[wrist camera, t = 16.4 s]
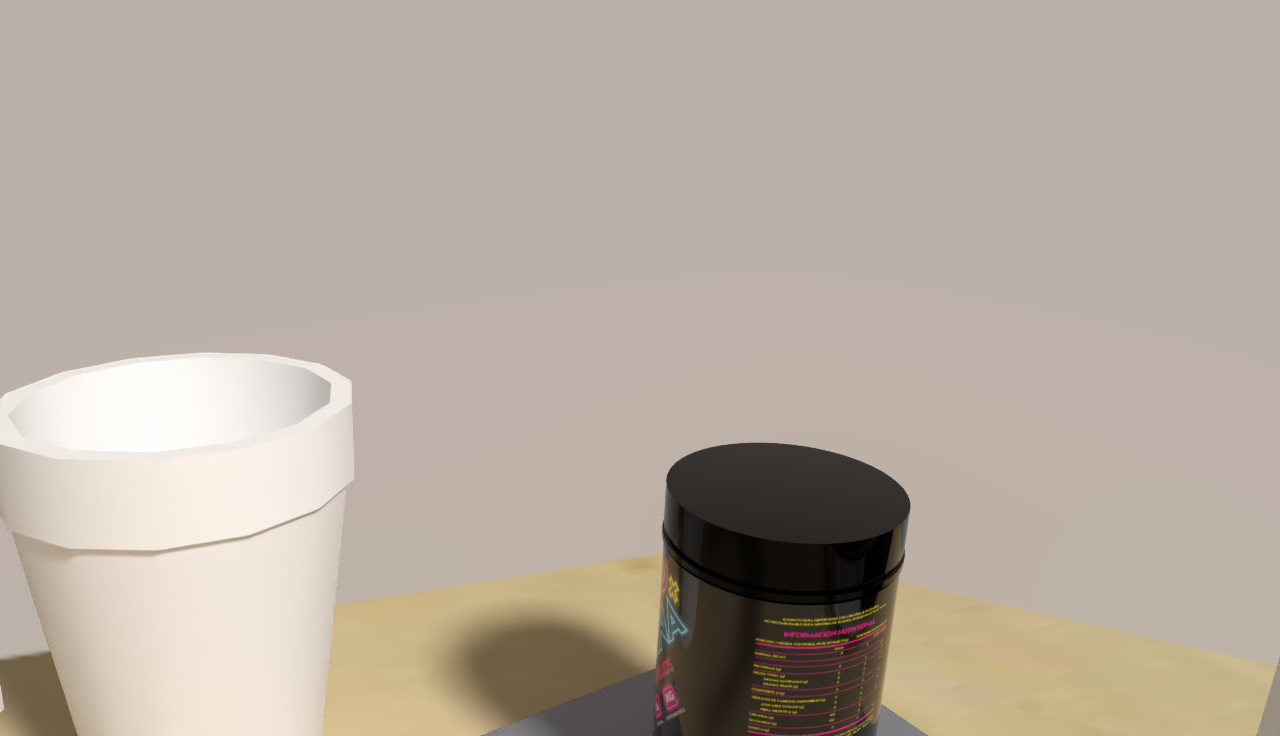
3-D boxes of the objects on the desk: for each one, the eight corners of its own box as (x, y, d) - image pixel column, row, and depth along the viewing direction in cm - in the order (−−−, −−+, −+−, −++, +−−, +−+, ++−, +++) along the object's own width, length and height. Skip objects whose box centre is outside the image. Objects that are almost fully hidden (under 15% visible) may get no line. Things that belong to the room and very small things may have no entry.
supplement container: (771, 704, 34) (800, 429, 31) (914, 829, 29) (965, 511, 26) (606, 765, 31) (620, 463, 28) (732, 920, 26) (767, 566, 22)
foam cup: (393, 695, 36) (384, 358, 32) (329, 898, 27) (306, 465, 23) (128, 692, 35) (88, 348, 32) (-26, 899, 26) (-108, 454, 23)
